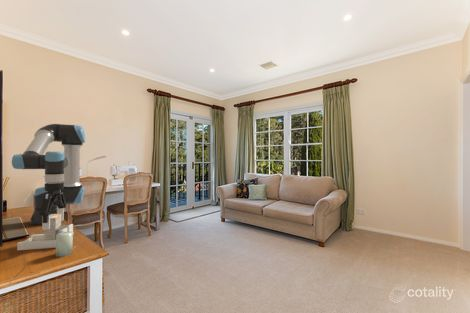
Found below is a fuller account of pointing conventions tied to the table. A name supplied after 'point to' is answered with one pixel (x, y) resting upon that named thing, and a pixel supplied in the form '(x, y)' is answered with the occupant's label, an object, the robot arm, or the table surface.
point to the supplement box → (52, 226)
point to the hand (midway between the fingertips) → (53, 224)
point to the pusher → (60, 230)
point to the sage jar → (64, 243)
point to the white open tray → (40, 241)
